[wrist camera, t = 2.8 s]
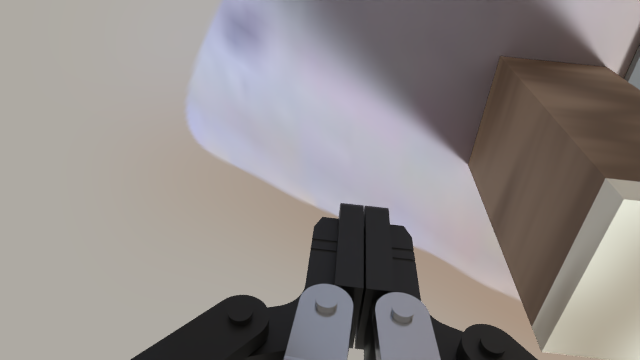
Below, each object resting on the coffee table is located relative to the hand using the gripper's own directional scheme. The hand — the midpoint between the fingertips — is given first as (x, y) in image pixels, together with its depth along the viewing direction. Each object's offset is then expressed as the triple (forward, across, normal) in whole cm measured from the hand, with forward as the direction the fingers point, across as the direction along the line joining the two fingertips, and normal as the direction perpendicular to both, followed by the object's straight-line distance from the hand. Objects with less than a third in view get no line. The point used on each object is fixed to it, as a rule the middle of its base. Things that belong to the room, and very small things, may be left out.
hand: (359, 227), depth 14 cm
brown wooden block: (+10, -9, 0) cm, 14 cm away
